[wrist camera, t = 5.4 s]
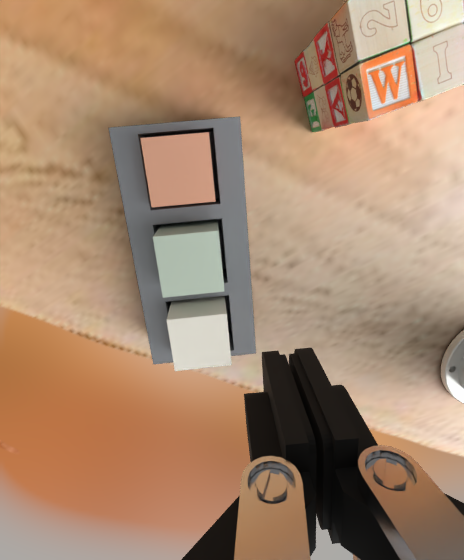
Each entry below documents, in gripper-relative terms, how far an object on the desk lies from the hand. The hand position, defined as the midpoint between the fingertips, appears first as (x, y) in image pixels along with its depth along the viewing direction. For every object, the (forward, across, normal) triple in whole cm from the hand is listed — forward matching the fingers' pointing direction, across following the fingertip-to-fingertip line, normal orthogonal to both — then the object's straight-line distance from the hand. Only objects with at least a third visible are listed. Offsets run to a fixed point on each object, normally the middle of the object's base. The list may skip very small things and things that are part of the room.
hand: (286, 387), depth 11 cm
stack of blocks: (+25, -17, -15) cm, 33 cm away
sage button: (+21, +5, 0) cm, 21 cm away
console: (+24, +5, 0) cm, 24 cm away
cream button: (+21, +5, +7) cm, 23 cm away
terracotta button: (+22, +5, -7) cm, 24 cm away
